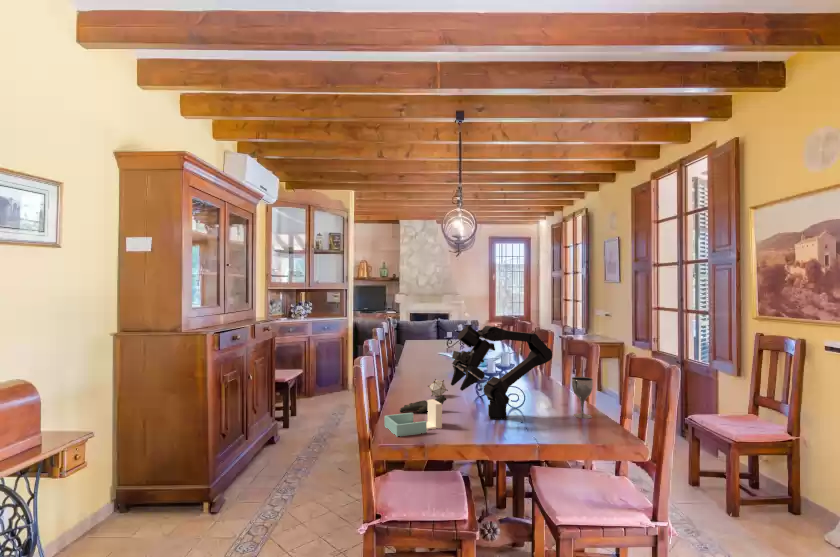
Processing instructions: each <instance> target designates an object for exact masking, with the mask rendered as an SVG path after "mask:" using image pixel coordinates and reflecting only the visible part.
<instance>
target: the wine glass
mask: <svg viewBox="0 0 840 557" xmlns="http://www.w3.org/2000/svg"><path fill="white" fill-rule="evenodd" d="M593 381H594V379H593V378H592V377H588V376H573V377H571V386H572V391H573V393H574V394H575V395H576V397H577V399H579V401H580V407H581V412H580V413H574V414H573V415H572V416H573V417H574V416H575V417H574V418H577V419H591V418H593V416H592V415H591V414H587V413H584V406H585V401H586V400H587V399H588V398H589V396H591V394H592V391H593V385H594V382H593Z"/></svg>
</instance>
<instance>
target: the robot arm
mask: <svg viewBox="0 0 840 557" xmlns="http://www.w3.org/2000/svg"><path fill="white" fill-rule="evenodd" d="M481 338H482V339H481ZM457 340H459V341H460V342H461V343H463V344H464V345H466V346H467V347H468V348H471V350H470V351H469V350H468V351H465V350H462V351H458V350H453V353H452V356H451V359H453V361H452V363H451V364H452V368H453V374H452V378H451V381H450V385H451V387H452V386H455V385H456V384H457V383H458V382H460V381H461V380H462V379H464V380H463V381H462V384H461V386H460V388H459V390H460V391H461V392H462V391H464V390H466V389H467V388H470V386H472V385H474V384H476V383H477V382H480V381H483V380H484V378H485V377H486V375H485V372H484V371H483V370H481V369H480V368H479V367H480V365H481V364H484V362H485V360H484V359H485V357H486V355H487V353H488V352H489V350H491V351H496V347H495V343H493V342H501V341H516V342H525V343H527V347H528V349H529V350H530V352H529V353H528V355H527V357H526V358H525V359H524V360H522V361H521V362H520V363H518V364H517V365H516V366H514V367H513V368H512V369H511V370H509V371H508V372H506V374H504V375H502V376H501V377H497V376H492V377H491V378H490V379H489V380H487V381H486V382H485V384H484V385H483V394H484V395H485V396H486V398H487V401H489V404H488V405H487V407H488V408H487V412H488V413H487V414H488V415H487V416H488V417H489V418H490V420H508V418H507V417H508V416H507V405H508V404H509V403H510V402H509V401H510V397H509V396H508V395H506V394H507V392H508V390H509V388H510V387H511V386H512V385H513V384H515V383H516V382H517V381H518V380H520V379H521V378H523V377H525V375H526V374H528V373H529V372H530V371H531V370H532V369H534V368H535V367H538V366H542V365H545V364H546V363H549V362H551V360H552V359H553V351H552V350H551V348H549V347H548V346H547V345H546V343H545V342H544V341H542V339H541V338H540V337H539V336H538V334H536V333H535V332H529V331H528V332H524V331H513V330H506V329H504V328H502V327H497V326H492V325H484V327H483V328H482V329H480V330H477V331H476V330H475V329H474V328H473V327H472V326H471V325H470V324H469V325H468V324H467V325H466V326H465V327H464V328H463V329H462V330H460V331H459V333H458V334H457ZM489 341H491V343H490V342H489Z"/></svg>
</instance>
